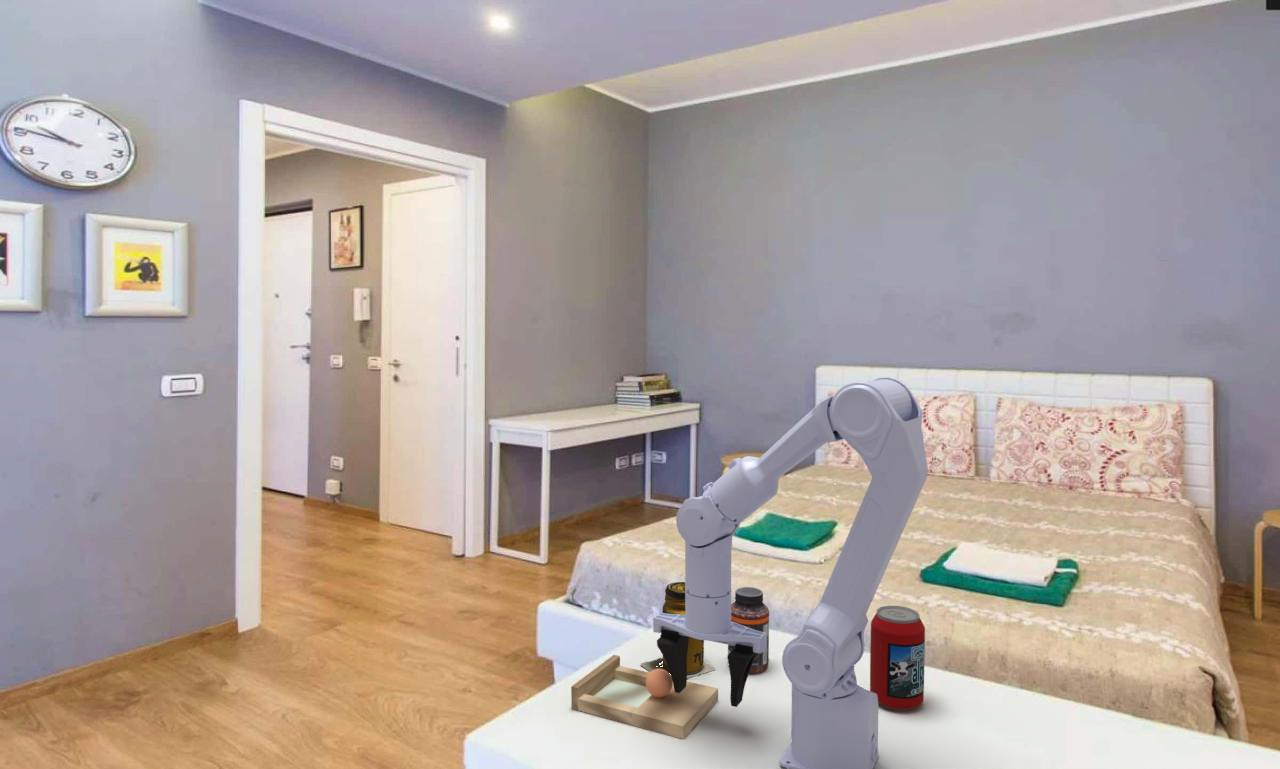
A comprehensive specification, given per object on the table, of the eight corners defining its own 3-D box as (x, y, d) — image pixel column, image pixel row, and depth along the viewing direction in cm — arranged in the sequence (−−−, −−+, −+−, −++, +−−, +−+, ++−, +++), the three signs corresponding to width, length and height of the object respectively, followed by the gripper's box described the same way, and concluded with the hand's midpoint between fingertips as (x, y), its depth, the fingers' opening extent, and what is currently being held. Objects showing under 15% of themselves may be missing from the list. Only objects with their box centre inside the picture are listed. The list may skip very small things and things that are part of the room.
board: (718, 700, 102) (718, 678, 101) (683, 739, 92) (683, 714, 92) (614, 675, 109) (613, 654, 109) (571, 708, 99) (571, 686, 99)
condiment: (716, 669, 111) (716, 588, 110) (668, 685, 106) (668, 600, 105) (686, 652, 117) (685, 575, 116) (639, 666, 112) (639, 586, 111)
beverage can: (905, 719, 96) (907, 626, 95) (859, 700, 101) (860, 611, 101) (933, 703, 100) (935, 613, 100) (888, 685, 106) (889, 600, 105)
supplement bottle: (724, 672, 110) (724, 595, 109) (731, 656, 115) (731, 582, 115) (766, 678, 108) (766, 599, 107) (771, 660, 114) (771, 586, 113)
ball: (677, 693, 100) (677, 667, 100) (665, 704, 97) (665, 678, 97) (653, 687, 102) (653, 662, 102) (641, 698, 99) (640, 672, 98)
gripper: (774, 589, 95) (773, 695, 96) (669, 572, 102) (670, 671, 103) (755, 607, 89) (754, 720, 90) (645, 588, 96) (645, 693, 97)
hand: (708, 696), depth 96 cm, fingers open, 7 cm apart
